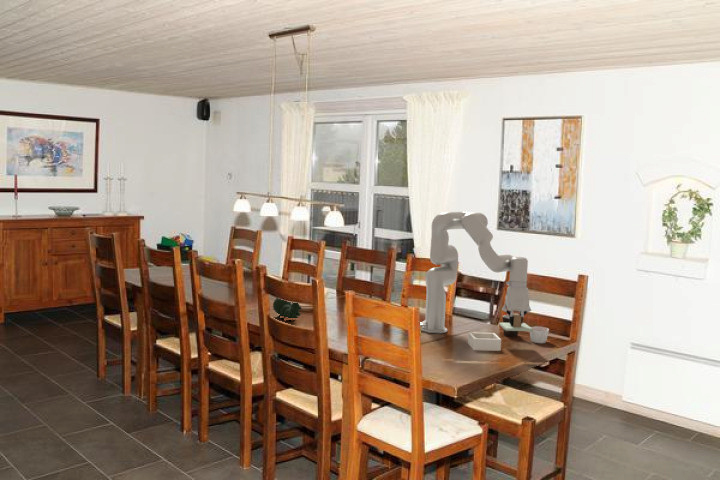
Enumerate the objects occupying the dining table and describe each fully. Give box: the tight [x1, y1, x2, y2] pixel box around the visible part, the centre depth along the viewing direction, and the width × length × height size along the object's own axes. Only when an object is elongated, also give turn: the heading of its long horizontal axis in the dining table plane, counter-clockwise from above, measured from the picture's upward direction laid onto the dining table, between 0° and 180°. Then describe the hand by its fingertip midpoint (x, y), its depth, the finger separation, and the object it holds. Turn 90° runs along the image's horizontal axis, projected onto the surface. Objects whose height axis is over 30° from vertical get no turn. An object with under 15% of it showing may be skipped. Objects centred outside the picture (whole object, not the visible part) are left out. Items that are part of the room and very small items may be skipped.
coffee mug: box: [502, 314, 519, 338], centre depth 331 cm, size 12×9×10 cm
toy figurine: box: [272, 297, 302, 318], centre depth 350 cm, size 9×19×25 cm
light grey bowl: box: [529, 325, 550, 344], centre depth 323 cm, size 9×9×6 cm
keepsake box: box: [467, 331, 502, 352], centre depth 306 cm, size 12×12×6 cm
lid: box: [498, 312, 533, 332], centre depth 306 cm, size 12×12×6 cm
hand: (515, 324), depth 307 cm, fingers closed on lid, 3 cm apart
